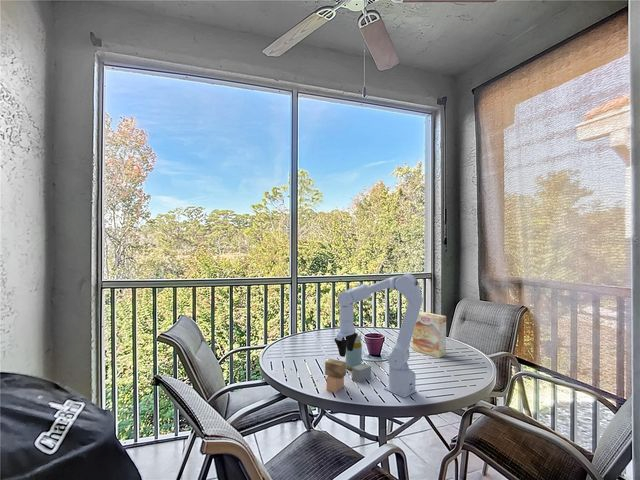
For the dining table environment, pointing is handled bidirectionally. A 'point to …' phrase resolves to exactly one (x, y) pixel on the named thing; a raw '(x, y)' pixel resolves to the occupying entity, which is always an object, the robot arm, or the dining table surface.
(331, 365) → the walnut brick
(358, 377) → the slate brick
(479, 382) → the dining table surface
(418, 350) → the coffeecake box
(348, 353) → the bottle
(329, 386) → the terracotta brick
